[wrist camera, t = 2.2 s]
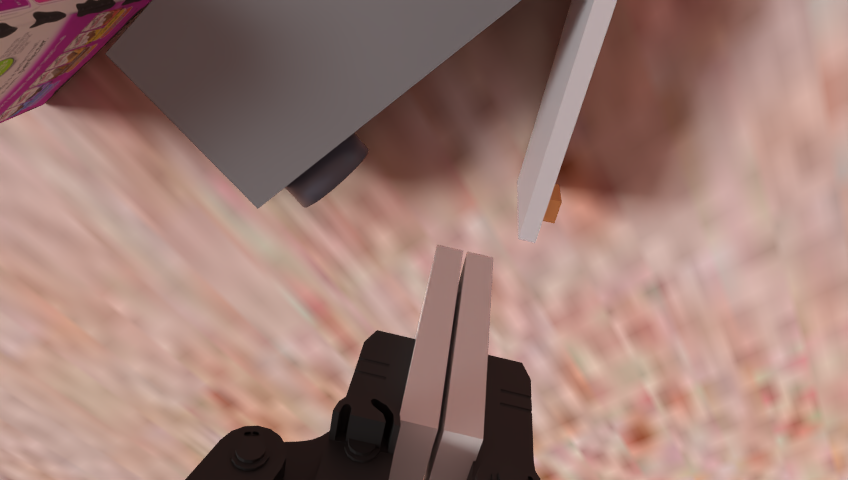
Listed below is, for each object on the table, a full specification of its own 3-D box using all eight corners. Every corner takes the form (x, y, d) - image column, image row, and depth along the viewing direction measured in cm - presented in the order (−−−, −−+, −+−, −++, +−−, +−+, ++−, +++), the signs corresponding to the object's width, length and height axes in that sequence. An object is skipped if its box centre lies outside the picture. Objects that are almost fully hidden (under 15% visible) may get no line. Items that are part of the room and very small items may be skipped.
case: (322, 174, 34) (275, 241, 28) (184, 23, 31) (93, 58, 24) (596, -39, 27) (623, -18, 20) (455, -267, 24) (432, -330, 17)
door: (549, 187, 33) (556, 248, 27) (513, 179, 33) (514, 239, 27) (634, -68, 26) (667, -57, 21) (589, -78, 26) (610, -70, 21)
